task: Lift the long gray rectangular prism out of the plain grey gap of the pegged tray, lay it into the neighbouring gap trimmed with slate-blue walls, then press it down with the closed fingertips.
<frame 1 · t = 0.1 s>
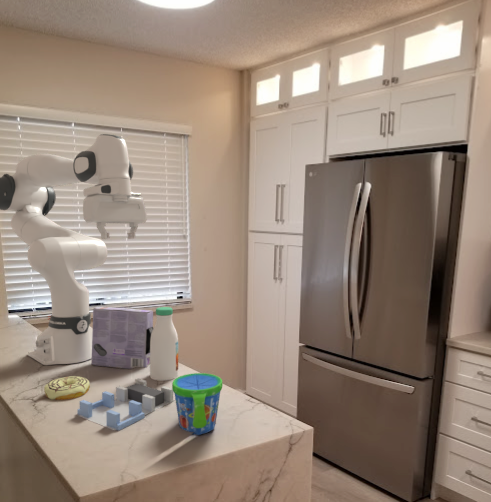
hand: (119, 238, 122), 39 cm above the counter, tool pointing down, fingers open, 8 cm apart
decorated donut: (67, 396, 106), on the counter
cake pan box: (123, 366, 129), on the counter
pegged tray: (128, 411, 97), on the counter
long gray rectangular prism: (144, 400, 101), point 1 cm above the counter, touching pegged tray
snack cup: (197, 428, 90), on the counter
milk bottle: (164, 379, 118), on the counter
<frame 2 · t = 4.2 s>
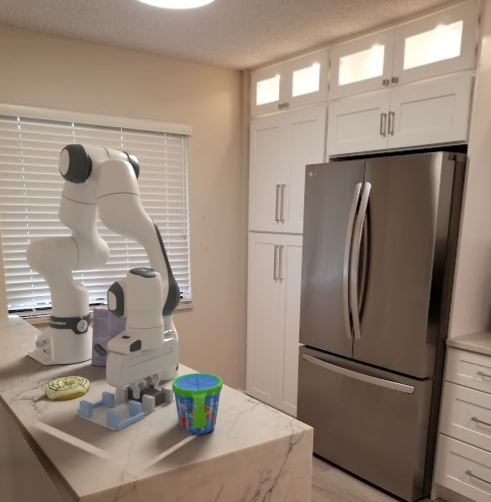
hand: (145, 394, 101), 3 cm above the counter, tool pointing down, fingers closed on long gray rectangular prism, 3 cm apart
long gray rectangular prism: (144, 400, 101), point 1 cm above the counter, touching pegged tray, gripper
milk bottle: (164, 379, 118), on the counter, touching arm
everything else where it was.
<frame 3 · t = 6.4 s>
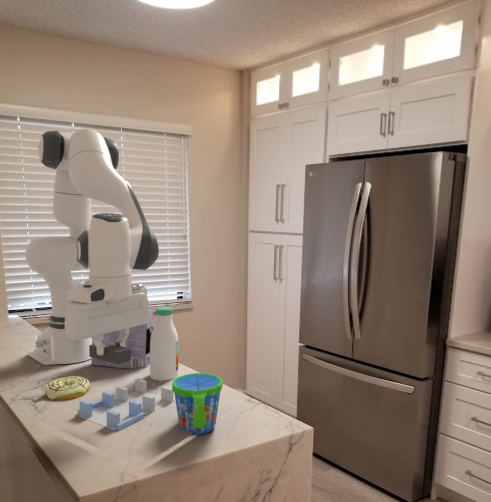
hand: (111, 351, 92), 15 cm above the counter, tool pointing down, fingers closed on long gray rectangular prism, 3 cm apart
long gray rectangular prism: (109, 358, 93), point 14 cm above the counter, touching gripper
milk bottle: (164, 379, 118), on the counter
everything else where it was.
when the fingers open (3 cm above the counter, at t = 8.5 s): long gray rectangular prism stays where it is, resting on pegged tray.
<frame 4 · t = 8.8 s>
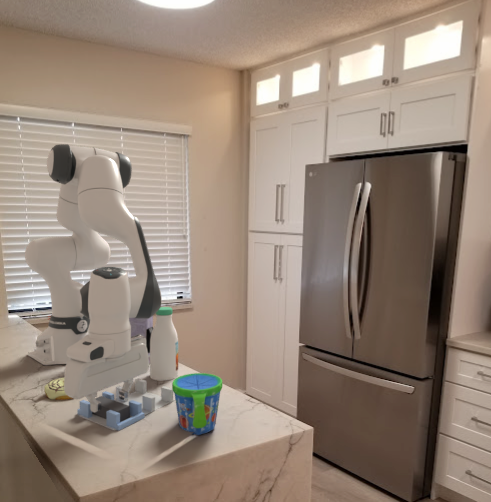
hand: (110, 404, 93), 3 cm above the counter, tool pointing down, fingers open, 6 cm apart
long gray rectangular prism: (109, 414, 93), point 1 cm above the counter, touching pegged tray
everything else where it was.
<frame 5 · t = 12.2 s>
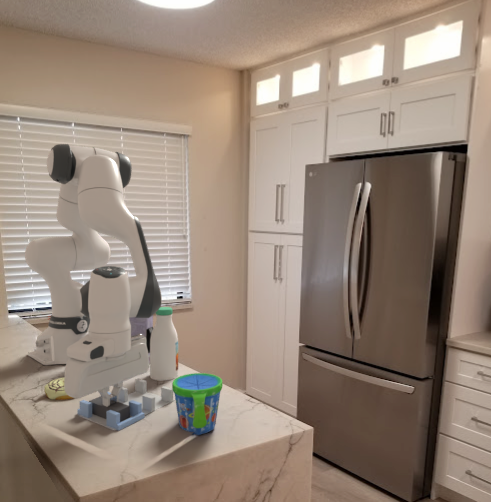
hand: (110, 404, 93), 4 cm above the counter, tool pointing down, fingers closed, pressing on long gray rectangular prism
long gray rectangular prism: (109, 414, 93), point 1 cm above the counter, touching pegged tray, gripper
everything else where it was.
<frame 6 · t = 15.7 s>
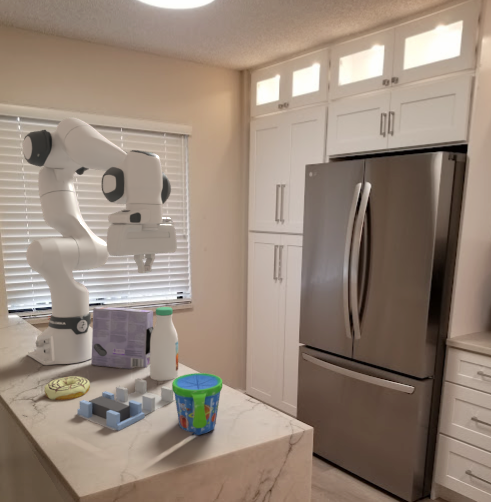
hand: (144, 272, 105), 31 cm above the counter, tool pointing down, fingers closed
long gray rectangular prism: (109, 414, 93), point 1 cm above the counter, touching pegged tray
everything else where it was.
at the end: long gray rectangular prism 0.6 cm from the target spot, point 1.0 cm above the counter; the gripper is holding nothing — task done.
